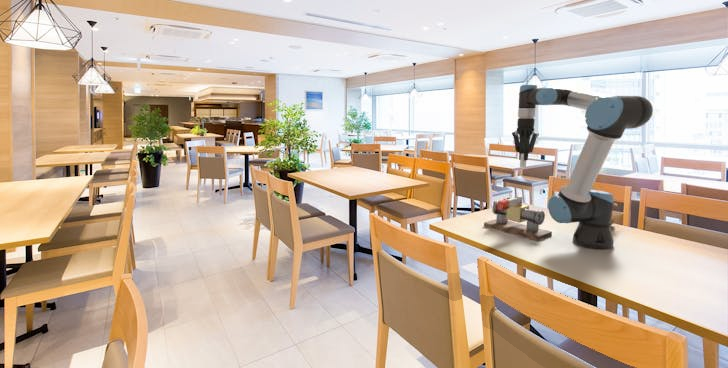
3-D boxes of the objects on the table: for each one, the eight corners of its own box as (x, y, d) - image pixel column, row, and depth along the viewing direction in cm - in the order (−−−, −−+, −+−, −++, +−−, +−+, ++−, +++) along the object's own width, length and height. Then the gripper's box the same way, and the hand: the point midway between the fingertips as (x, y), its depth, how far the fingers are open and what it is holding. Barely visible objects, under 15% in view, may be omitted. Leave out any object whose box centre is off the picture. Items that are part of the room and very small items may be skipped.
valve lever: (516, 203, 186) (517, 195, 185) (523, 204, 183) (524, 196, 182) (496, 209, 176) (496, 200, 175) (503, 210, 173) (504, 202, 172)
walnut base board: (551, 235, 178) (551, 231, 178) (537, 241, 171) (537, 236, 171) (498, 222, 200) (498, 218, 200) (483, 226, 193) (484, 222, 193)
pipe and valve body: (543, 231, 178) (545, 209, 176) (535, 234, 174) (537, 211, 172) (499, 220, 197) (501, 200, 195) (491, 222, 193) (492, 202, 191)
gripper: (543, 117, 183) (539, 167, 187) (518, 117, 193) (515, 164, 197) (534, 118, 178) (531, 169, 183) (509, 117, 189) (506, 166, 193)
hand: (522, 166), depth 190 cm, fingers closed
